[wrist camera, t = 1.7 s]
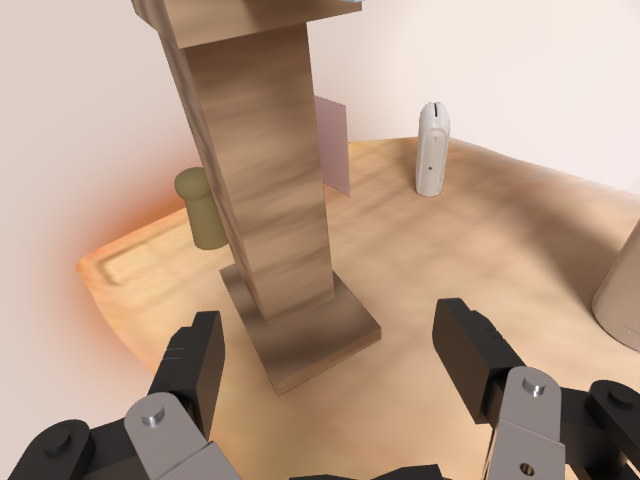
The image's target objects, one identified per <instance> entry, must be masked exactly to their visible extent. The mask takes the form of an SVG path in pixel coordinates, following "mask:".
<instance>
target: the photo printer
mask: <svg viewBox="0 0 640 480" xmlns="http://www.w3.org/2000/svg"><path fill="white" fill-rule="evenodd" d="M449 136H450V123H449V116H448V112H447V110H446V108H445V106H444V105H443V104H441V103H439V102H436V103H433V102H430V103H428V104H426V105H425V107H424V108H423V109H422V111H421V114H420V119H419V135H418V147H417V159H416V191H417V193H418V194H420V195H422V196H425V197H433V196H437V195H438V194H440V192H441V190H442V185H443V179H444V172H445V165H446V158H447V151H448V143H449Z"/></svg>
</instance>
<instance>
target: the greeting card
mask: <svg viewBox="0 0 640 480" xmlns="http://www.w3.org/2000/svg"><path fill="white" fill-rule="evenodd" d="M314 102H315V111H316V121H317V131H318V140H319V150H320V159H321V169H322V179H323V182H324V183H325V184H327V185H329V186H331V187H333V188H334V189H336V190H338V191H340V192H342V193H344V194H345V195H347V196H349V197H350V182H349V162H348V142H347V123H346V106H345V105H343V104H340V103H336V102H333V101H330V100H327V99H324V98H321V97H318V96H315V95H314Z"/></svg>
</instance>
